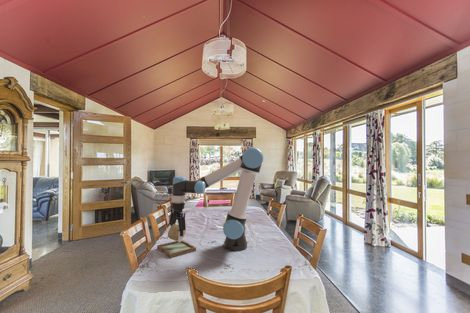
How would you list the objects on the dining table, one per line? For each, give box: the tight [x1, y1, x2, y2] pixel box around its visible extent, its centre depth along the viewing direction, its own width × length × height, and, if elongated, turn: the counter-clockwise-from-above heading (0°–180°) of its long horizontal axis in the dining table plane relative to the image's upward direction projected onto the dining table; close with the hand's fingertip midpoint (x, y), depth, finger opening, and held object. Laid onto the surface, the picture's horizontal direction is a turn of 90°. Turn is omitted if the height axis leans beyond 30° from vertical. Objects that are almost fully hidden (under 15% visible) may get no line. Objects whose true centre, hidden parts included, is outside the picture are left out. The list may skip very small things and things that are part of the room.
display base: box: [156, 239, 197, 259], centre depth 145 cm, size 17×17×2 cm
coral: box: [167, 223, 187, 241], centre depth 145 cm, size 10×10×10 cm
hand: (176, 239), depth 145 cm, fingers closed on coral, 9 cm apart
